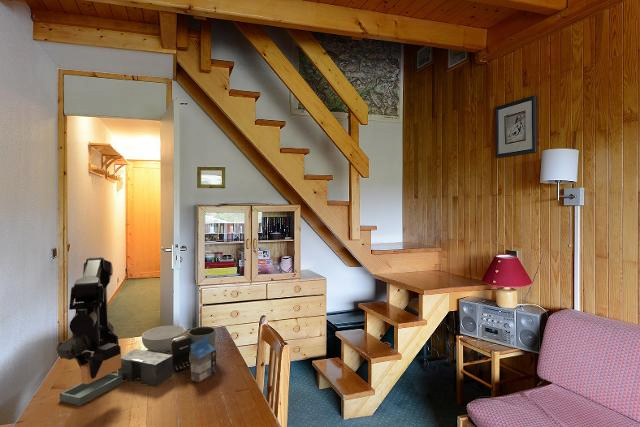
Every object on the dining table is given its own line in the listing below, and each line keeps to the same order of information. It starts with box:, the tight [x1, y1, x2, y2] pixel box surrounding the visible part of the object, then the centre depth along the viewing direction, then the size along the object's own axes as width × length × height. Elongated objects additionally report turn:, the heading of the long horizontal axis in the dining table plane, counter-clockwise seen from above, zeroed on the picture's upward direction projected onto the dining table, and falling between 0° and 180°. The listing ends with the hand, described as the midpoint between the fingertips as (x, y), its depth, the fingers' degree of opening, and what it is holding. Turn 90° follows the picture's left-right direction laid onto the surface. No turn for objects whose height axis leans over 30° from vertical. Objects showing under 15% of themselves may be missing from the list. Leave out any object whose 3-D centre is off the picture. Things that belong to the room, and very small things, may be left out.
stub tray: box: [59, 372, 124, 407], centre depth 131 cm, size 8×16×2 cm, turn 160°
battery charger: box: [169, 335, 191, 373], centre depth 147 cm, size 7×4×11 cm, turn 139°
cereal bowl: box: [141, 325, 187, 353], centre depth 167 cm, size 17×17×7 cm
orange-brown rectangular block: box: [80, 353, 122, 384], centre depth 123 cm, size 2×12×5 cm, turn 160°
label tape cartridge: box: [190, 337, 217, 383], centre depth 141 cm, size 9×4×12 cm, turn 155°
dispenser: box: [117, 348, 174, 388], centre depth 140 cm, size 16×8×8 cm, turn 70°
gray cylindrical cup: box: [187, 325, 217, 365], centre depth 153 cm, size 10×10×12 cm
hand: (89, 377), depth 119 cm, fingers closed on orange-brown rectangular block, 2 cm apart
